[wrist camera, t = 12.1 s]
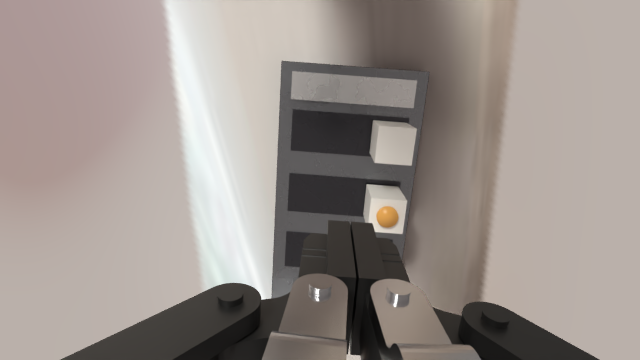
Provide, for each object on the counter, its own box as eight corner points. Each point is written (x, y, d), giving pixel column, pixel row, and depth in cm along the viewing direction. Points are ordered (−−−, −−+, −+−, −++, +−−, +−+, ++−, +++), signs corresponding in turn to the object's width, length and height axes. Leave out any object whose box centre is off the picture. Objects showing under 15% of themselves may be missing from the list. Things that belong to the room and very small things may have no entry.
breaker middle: (366, 184, 35) (371, 199, 30) (398, 186, 35) (408, 202, 30) (363, 213, 35) (367, 232, 31) (394, 216, 35) (403, 235, 31)
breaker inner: (373, 120, 33) (378, 125, 29) (406, 122, 33) (416, 128, 29) (369, 152, 34) (374, 162, 30) (401, 155, 34) (411, 165, 30)
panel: (284, 61, 34) (281, 60, 32) (423, 72, 34) (430, 71, 32) (274, 289, 41) (271, 300, 39) (391, 298, 41) (395, 310, 38)
